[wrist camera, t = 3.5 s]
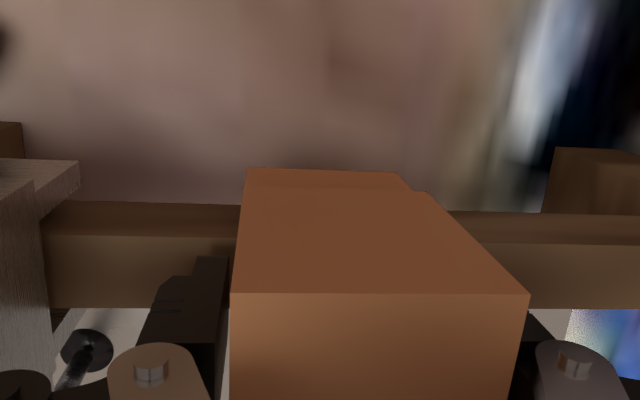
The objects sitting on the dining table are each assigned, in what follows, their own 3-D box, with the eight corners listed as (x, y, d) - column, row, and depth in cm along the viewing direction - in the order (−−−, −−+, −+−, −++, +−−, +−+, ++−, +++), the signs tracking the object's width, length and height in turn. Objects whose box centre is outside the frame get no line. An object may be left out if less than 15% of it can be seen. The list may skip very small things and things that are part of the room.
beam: (-65, 118, 19) (-314, 184, 11) (618, 149, 22) (820, 216, 14) (-47, 218, 20) (-257, 344, 12) (596, 232, 23) (770, 337, 15)
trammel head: (251, 127, 18) (230, 292, 7) (366, 132, 19) (530, 294, 7) (245, 368, 22) (225, 755, 10) (344, 367, 22) (431, 732, 11)
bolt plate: (-15, 254, 20) (-29, 266, 19) (569, 262, 24) (582, 272, 23) (11, 411, 23) (-1, 428, 22) (535, 399, 26) (545, 413, 25)
